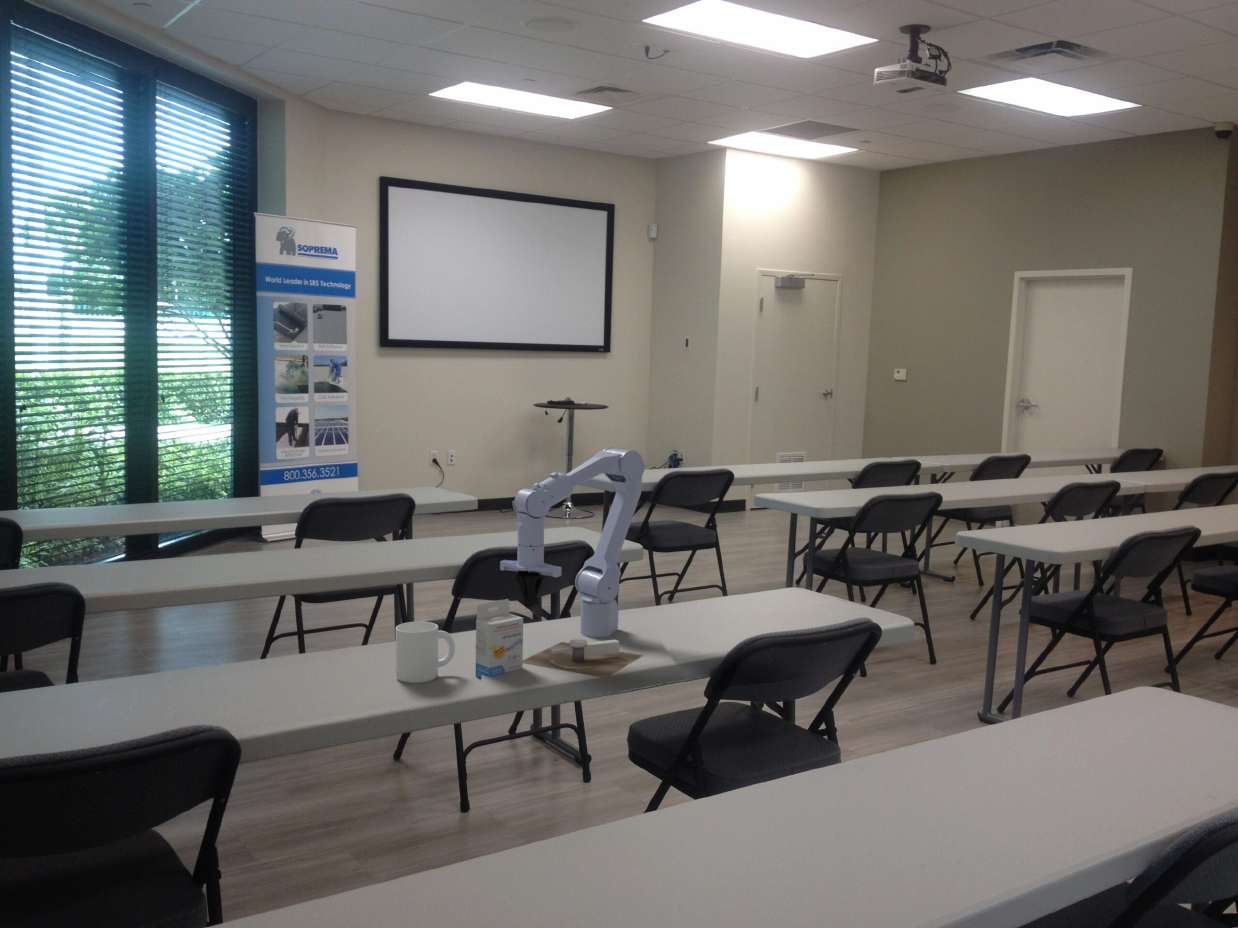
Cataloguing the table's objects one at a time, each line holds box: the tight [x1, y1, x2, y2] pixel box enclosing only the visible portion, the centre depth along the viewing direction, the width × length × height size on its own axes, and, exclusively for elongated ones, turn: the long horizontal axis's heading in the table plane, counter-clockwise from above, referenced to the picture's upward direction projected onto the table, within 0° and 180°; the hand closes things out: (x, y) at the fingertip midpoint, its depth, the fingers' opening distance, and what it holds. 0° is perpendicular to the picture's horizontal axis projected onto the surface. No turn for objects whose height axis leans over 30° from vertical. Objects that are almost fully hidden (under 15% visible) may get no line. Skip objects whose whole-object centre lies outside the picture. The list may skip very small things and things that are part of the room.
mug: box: [395, 621, 456, 684], centre depth 197 cm, size 12×8×10 cm
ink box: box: [475, 598, 524, 679], centre depth 198 cm, size 8×5×15 cm, turn 135°
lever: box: [552, 638, 620, 662], centre depth 206 cm, size 15×4×4 cm, turn 115°
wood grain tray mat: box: [522, 641, 644, 679], centre depth 207 cm, size 18×20×1 cm
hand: (529, 605), depth 216 cm, fingers closed
